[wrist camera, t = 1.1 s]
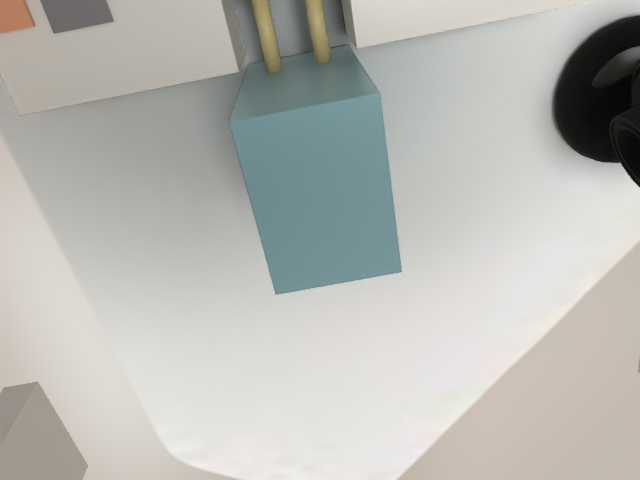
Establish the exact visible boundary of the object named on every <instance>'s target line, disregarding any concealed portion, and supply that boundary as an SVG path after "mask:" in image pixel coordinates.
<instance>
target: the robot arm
mask: <svg viewBox="0 0 640 480" xmlns="http://www.w3.org/2000/svg"><path fill="white" fill-rule="evenodd" d="M638 372H639V373H640V360H639V367H638ZM87 467H88V465H87V463H86V461H85V460H84V458H83V456H82V455H81V453H80V451H79V450H78V448H77V446H76V445H75V443H74V441H73V440H72V438H71V436H70V435H69V433H68V431H67V430H66V428H65V426H64V425H63V423H62V421H61V419H60V418H59V416H58V415H57V413H56V411H55V409H54V408H53V406H52V404H51V403H50V401H49V399H48V398H47V396H46V395H45V393H44V391H43V389H42V388H41V386H40V384H39V383H38V382H33V383H28V384H22V385H16V386H11V387H5V388H3V390H2V391H1V393H0V480H82V479H83V477H84V474H85V472H86V469H87Z"/></svg>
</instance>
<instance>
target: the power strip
mask: <svg viewBox="0 0 640 480" xmlns="http://www.w3.org/2000/svg"><path fill="white" fill-rule="evenodd" d="M341 1H342V8H343V15H344V21H345V28H346V34H347V35H348V37H349V38H350V39H351V41H352V42H353V44H354V45H355V46H356V48H357V49H358V48H363V47H368V46H373V45H378V44H383V43H388V42H393V41H398V40H403V39H408V38H413V37H418V36H423V35H428V34H433V33H439V32H444V31H449V30H454V29H459V28H464V27H469V26H474V25H479V24H484V23H489V22H494V21H499V20H504V19H509V18H514V17H519V16H524V15H529V14H534V13H539V12H544V11H549V10H554V9H559V8H564V7H569V6H574V5H579V4H585V3H588V0H341ZM245 55H246V51H245V47H244V43H243V39H242V34H241V30H240V26H239V22H238V18H237V13H236V9H235V5H234V1H233V0H0V76H1V78H2V80H3V82H4V84H5V86H6V88H7V91H8V93H9V95H10V97H11V99H12V101H13V103H14V106H15V108H16V110H17V112H18V114H19V116H21V115H26V114H31V113H36V112H41V111H46V110H51V109H56V108H61V107H66V106H71V105H76V104H81V103H86V102H91V101H96V100H101V99H106V98H111V97H116V96H121V95H126V94H131V93H136V92H141V91H146V90H152V89H157V88H162V87H167V86H172V85H177V84H182V83H187V82H192V81H197V80H202V79H207V78H212V77H217V76H222V75H227V74H232V73H237V72H239V70H240V68H241V65H242V63H243V60H244V58H245Z"/></svg>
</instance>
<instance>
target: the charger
mask: <svg viewBox="0 0 640 480" xmlns="http://www.w3.org/2000/svg"><path fill="white" fill-rule="evenodd" d="M251 1H252V6H253V10H254V15H255V19H256V24H257V28H258V33H259V37H260V41H261V46H262V50H263V55H264V59H265V61H263V62H258V63H253V64H248V67H247V70H246V73H245V76H244V79H243V82H242V85H241V88H240V91H239V94H238V97H237V100H236V103H235V106H234V109H233V112H232V115H231V118H230V121H229V124H230V128H231V132H232V135H233V139H234V143H235V146H236V150H237V154H238V157H239V161H240V165H241V169H242V172H243V176H244V180H245V183H246V187H247V191H248V194H249V198H250V202H251V205H252V209H253V213H254V217H255V220H256V224H257V228H258V231H259V235H260V239H261V242H262V246H263V250H264V253H265V257H266V261H267V264H268V268H269V272H270V276H271V279H272V283H273V287H274V290H275V294H276V295H277V294H283V293H288V292H294V291H299V290H305V289H310V288H316V287H321V286H327V285H332V284H338V283H343V282H349V281H354V280H360V279H365V278H371V277H376V276H382V275H387V274H393V273H398V272H402V270H401V261H400V253H399V245H398V237H397V229H396V220H395V212H394V204H393V196H392V188H391V179H390V171H389V163H388V155H387V147H386V139H385V130H384V122H383V114H382V106H381V98H380V92H379V91H378V89H377V88H376V86H375V85H374V83H373V82H372V80H371V79H370V77H369V76H368V74H367V73H366V71H365V70H364V68H363V66H362V65H361V63H360V62H359V60H358V59H357V57H356V56H355V54H354V53H353V51H352V50H351V48H350V47H349V45H343V46H338V47H333V48H330V47H329V41H328V35H327V29H326V23H325V17H324V11H323V4H322V0H305V4H306V9H307V15H308V21H309V26H310V32H311V38H312V43H313V49H314V51H313V52H308V53H303V54H298V55H293V56H288V57H283V58H280V53H279V49H278V44H277V39H276V34H275V29H274V25H273V20H272V15H271V10H270V5H269V1H268V0H251Z"/></svg>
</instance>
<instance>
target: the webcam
mask: <svg viewBox="0 0 640 480" xmlns="http://www.w3.org/2000/svg"><path fill="white" fill-rule="evenodd" d="M636 46H640V16H635V17H630V18H625V19H623V20H621V21H618V22H616V23H613V24H611V25H609V26H608V27H606V28H604V29H603V30H601V31H600V32H599V33H597V34H596V35H595V36H593V37H592V38H590V39H589V40H588V41H587V42H586V43H585V44H584V45H583V46H582V47H581V48H580V49H579V50H578V52H577V53H576V55H575V56H574V57H573V59H572V60H571V61H570V63H569V65H568V67H567V69H566V71H565V74H564V76H563V79H562V81H561V84H560V86H559V89H558V91H557V97H556V118H557V122H558V125H559V129H560V131H561V133H562V135H563V137H564V139H565V140H566V142H567V143H568V144H569V145H570V146H571V147H572V148H573V149H574V150H575V151H577V152H578V153H579V154H581V155H583V156H585V157H588V158H591V159H594V160H596V161H600V162H611V163H620V162H621V164H622V166H623V167H624V169H625V170H626V172H627V173H628V175H629V176H630V177H631V179H632V180H633V181H634V182H635V183H636V184H637V185H638V186H639V187H640V61H639V63H638V65H637V66H636V68H635V70H634V73H632V74H630V75H628V76H626V77H624V78H622V79H620V80H618V81H615V82H613V83H611V84H609V85H606V86H603V87H597V88H594V87H592V85H591V84H592V82H593V80H594V79H593V78H595V76H596V75H597V74H598V72H599V71H600V70H601V69H602V67H603V66H604V65H605V64H606V63H607V62H608V61H609V60H611V59H612V58H613V57H614V56H616V55H617V54H619V53H621V52H623V51H625V50H627V49H629V48H632V47H636Z"/></svg>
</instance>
